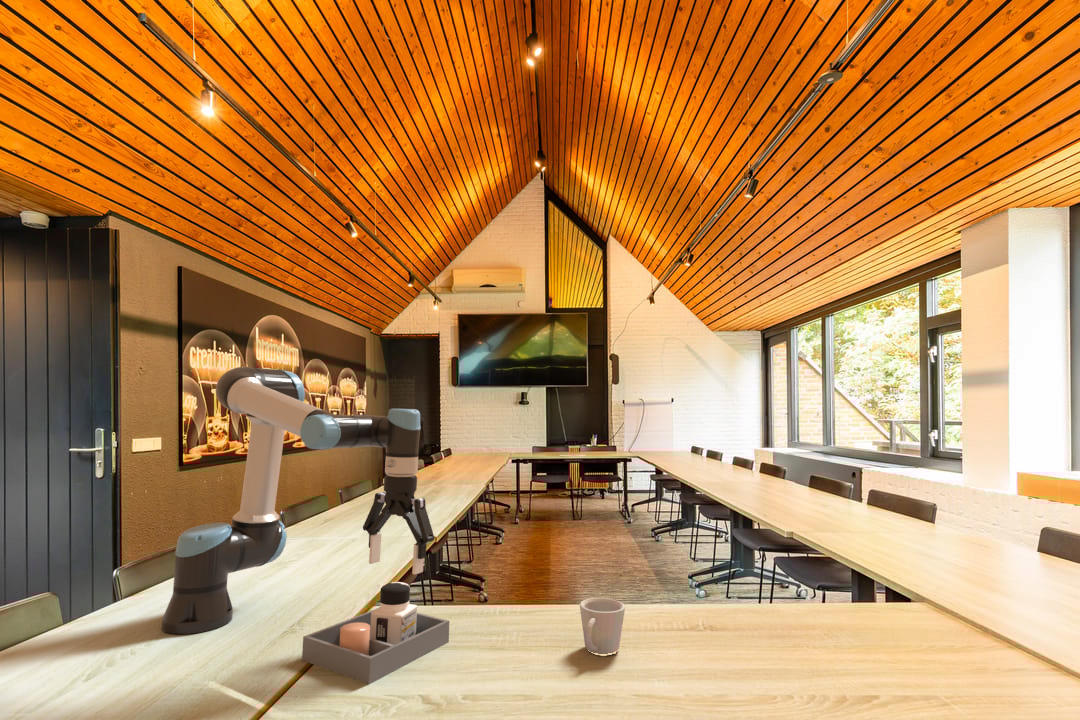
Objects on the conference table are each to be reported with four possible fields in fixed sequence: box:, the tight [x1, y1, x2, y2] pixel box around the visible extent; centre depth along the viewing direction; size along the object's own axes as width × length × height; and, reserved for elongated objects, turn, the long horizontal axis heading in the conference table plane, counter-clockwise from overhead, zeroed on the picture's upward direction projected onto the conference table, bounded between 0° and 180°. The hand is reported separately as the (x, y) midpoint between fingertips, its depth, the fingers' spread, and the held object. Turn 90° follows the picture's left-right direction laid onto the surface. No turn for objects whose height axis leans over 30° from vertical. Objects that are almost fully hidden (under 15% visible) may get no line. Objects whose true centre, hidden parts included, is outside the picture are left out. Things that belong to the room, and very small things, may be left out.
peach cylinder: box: [339, 622, 370, 656], centre depth 118 cm, size 6×6×7 cm
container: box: [370, 581, 418, 645], centre depth 128 cm, size 8×8×13 cm
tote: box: [301, 607, 450, 685], centre depth 124 cm, size 20×24×6 cm
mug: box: [579, 597, 626, 654], centre depth 127 cm, size 10×15×10 cm
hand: (395, 567), depth 129 cm, fingers open, 13 cm apart
